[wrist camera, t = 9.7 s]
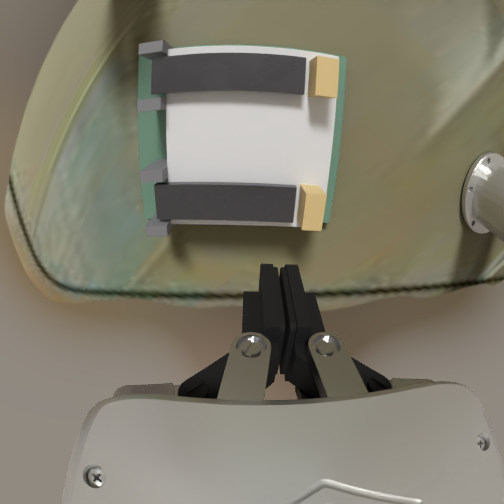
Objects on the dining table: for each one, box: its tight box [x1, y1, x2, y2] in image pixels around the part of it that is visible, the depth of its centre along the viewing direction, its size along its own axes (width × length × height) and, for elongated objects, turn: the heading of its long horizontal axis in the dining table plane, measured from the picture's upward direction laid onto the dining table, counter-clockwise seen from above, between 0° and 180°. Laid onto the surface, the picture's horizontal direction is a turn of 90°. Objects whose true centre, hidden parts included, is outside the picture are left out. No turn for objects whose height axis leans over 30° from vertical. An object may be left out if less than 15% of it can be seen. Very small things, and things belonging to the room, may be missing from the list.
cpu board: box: [137, 40, 347, 237], centre depth 22 cm, size 20×18×7 cm
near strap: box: [151, 53, 306, 95], centre depth 18 cm, size 12×3×1 cm, turn 88°
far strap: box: [154, 182, 297, 223], centre depth 23 cm, size 12×3×1 cm, turn 88°
